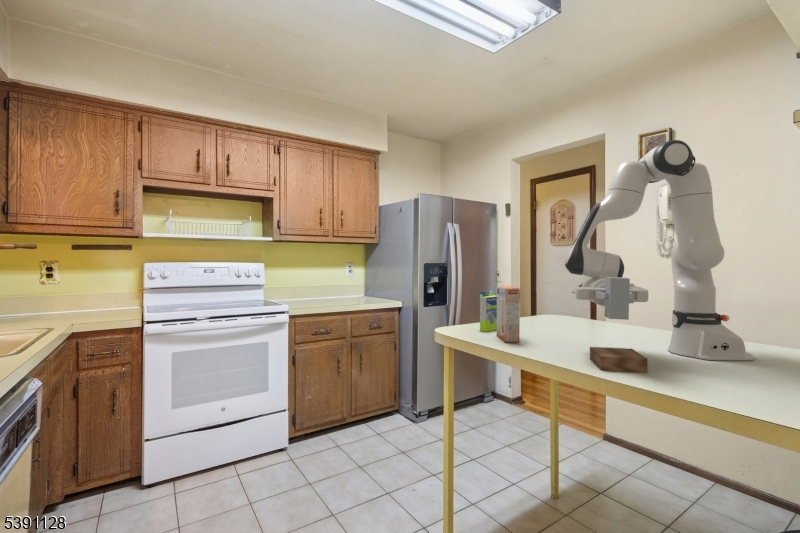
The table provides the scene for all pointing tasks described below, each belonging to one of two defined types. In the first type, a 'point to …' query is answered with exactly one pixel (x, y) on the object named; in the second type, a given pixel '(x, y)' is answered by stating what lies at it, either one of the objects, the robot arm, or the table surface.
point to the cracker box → (508, 313)
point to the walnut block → (618, 359)
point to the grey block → (617, 298)
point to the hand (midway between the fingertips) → (617, 296)
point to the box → (488, 311)
